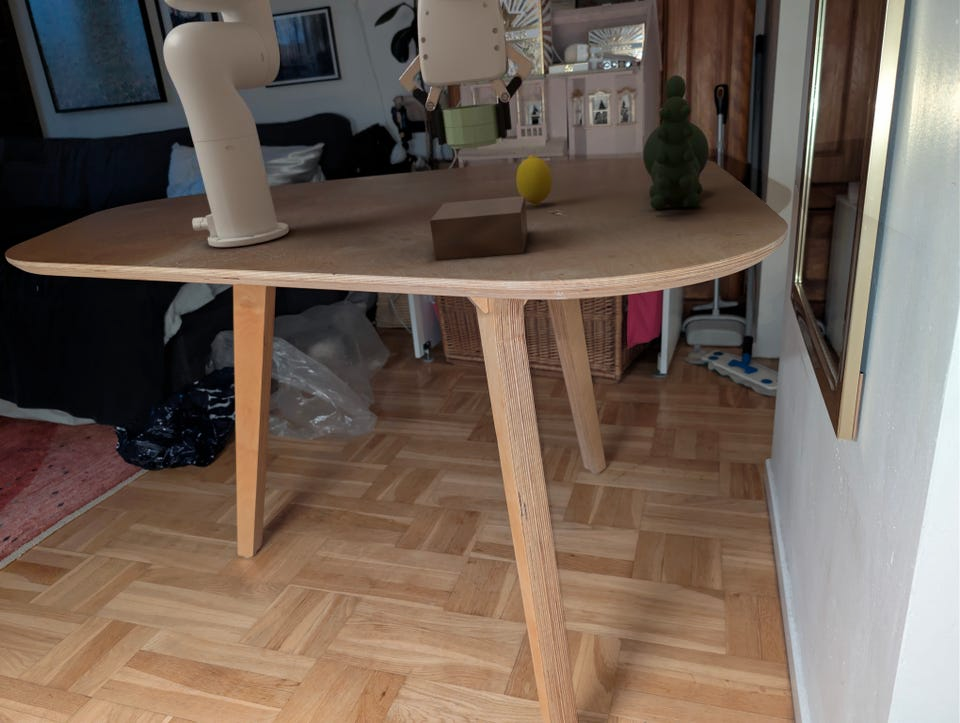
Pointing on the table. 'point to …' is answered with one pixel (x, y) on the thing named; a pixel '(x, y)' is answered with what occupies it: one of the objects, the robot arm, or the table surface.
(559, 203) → the table surface
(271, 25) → the robot arm
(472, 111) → the bowl
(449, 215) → the stand
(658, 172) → the toy figurine
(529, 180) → the lemon
